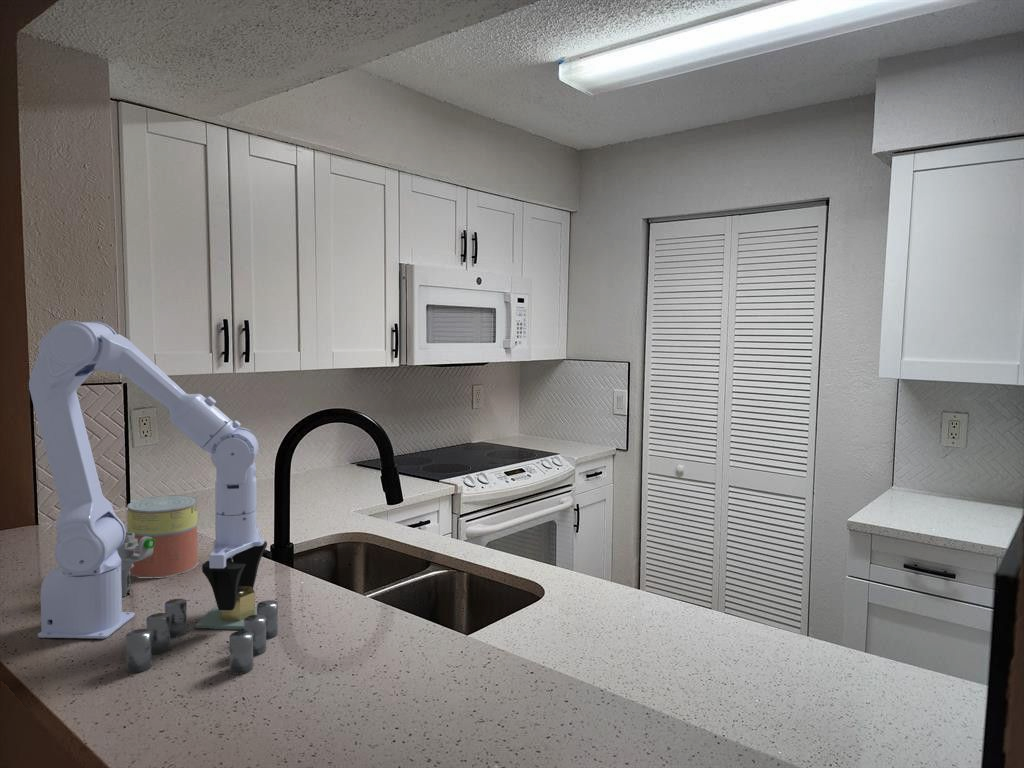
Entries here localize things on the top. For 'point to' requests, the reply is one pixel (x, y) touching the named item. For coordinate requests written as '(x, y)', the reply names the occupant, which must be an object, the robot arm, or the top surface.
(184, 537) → the canned food
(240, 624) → the green mat
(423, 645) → the top surface
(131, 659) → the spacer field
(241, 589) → the brass nut
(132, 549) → the mechanical component
